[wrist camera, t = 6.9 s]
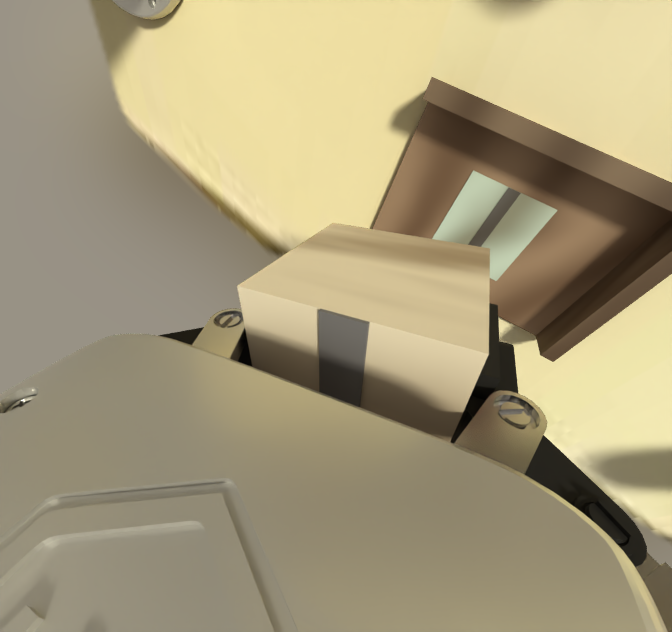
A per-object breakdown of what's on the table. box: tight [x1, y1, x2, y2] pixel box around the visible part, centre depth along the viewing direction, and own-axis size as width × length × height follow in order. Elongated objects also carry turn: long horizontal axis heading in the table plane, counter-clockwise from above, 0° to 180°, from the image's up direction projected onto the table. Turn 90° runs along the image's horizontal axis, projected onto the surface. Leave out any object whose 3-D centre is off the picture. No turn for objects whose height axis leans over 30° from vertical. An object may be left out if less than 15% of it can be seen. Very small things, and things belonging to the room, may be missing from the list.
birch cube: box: [237, 223, 490, 442], centre depth 10 cm, size 6×6×6 cm
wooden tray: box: [373, 77, 672, 362], centre depth 23 cm, size 20×14×4 cm
